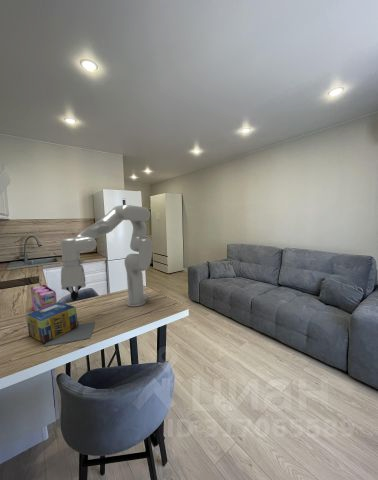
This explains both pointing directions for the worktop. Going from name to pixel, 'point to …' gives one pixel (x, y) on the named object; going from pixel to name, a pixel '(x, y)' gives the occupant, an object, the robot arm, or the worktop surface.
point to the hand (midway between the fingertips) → (75, 299)
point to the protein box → (52, 321)
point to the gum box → (42, 297)
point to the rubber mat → (74, 334)
